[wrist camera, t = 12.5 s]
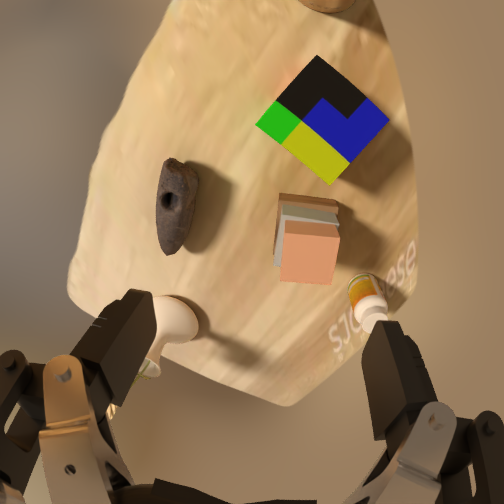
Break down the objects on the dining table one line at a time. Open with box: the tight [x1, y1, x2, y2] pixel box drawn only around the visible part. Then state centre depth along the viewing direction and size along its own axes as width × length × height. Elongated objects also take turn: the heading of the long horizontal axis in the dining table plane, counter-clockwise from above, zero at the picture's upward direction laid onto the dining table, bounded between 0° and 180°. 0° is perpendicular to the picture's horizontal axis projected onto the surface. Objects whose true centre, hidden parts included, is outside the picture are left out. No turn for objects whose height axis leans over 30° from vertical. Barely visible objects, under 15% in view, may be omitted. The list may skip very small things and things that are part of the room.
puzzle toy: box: [255, 55, 389, 186], centre depth 30 cm, size 10×10×10 cm
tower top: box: [273, 204, 339, 267], centre depth 37 cm, size 7×7×4 cm
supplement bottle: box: [348, 273, 388, 333], centre depth 41 cm, size 5×5×10 cm
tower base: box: [273, 193, 339, 255], centre depth 40 cm, size 8×8×4 cm
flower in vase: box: [107, 296, 199, 419], centre depth 42 cm, size 13×11×25 cm
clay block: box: [280, 220, 340, 285], centre depth 33 cm, size 6×6×4 cm
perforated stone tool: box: [156, 158, 199, 256], centre depth 39 cm, size 15×5×7 cm, turn 165°
